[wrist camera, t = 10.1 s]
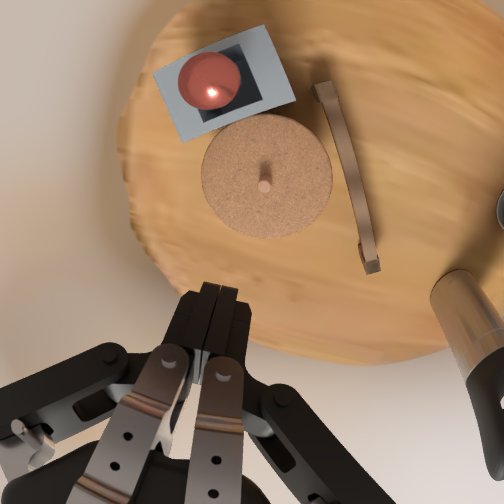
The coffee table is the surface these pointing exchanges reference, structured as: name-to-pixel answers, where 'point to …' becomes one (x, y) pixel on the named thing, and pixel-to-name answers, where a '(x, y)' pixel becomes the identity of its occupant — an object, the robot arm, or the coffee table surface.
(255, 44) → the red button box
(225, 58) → the plunger
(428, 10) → the coffee table surface
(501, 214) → the ceramic mug
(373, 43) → the coffee table surface
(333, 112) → the brown curved bar
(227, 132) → the lidded bowl
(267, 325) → the coffee table surface
